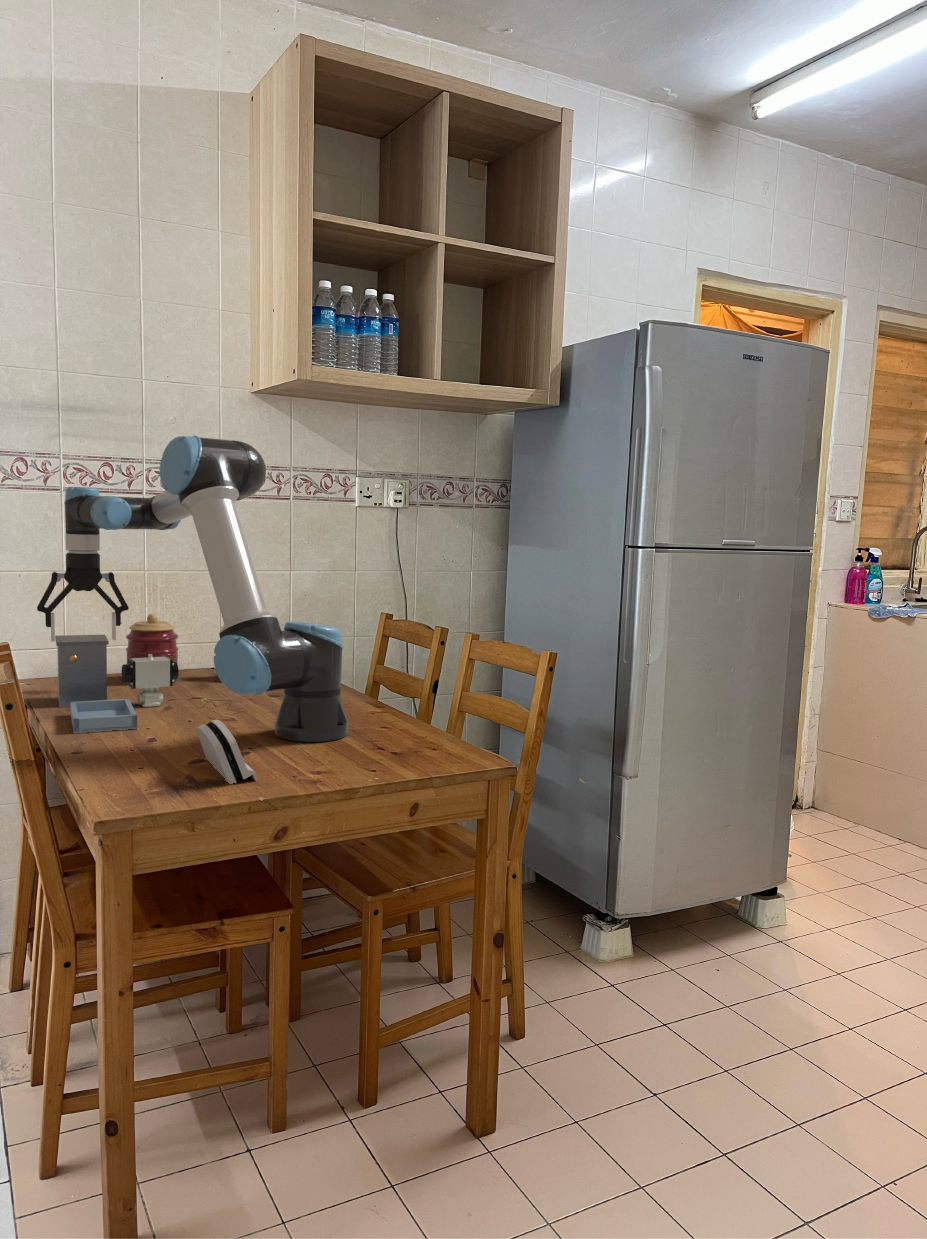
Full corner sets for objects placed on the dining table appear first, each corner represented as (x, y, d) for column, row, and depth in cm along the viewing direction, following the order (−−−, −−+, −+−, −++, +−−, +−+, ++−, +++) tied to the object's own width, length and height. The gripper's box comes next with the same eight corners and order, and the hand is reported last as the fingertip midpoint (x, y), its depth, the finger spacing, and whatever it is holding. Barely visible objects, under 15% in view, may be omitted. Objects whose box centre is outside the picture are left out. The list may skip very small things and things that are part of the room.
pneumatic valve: (178, 705, 209) (178, 654, 207) (126, 710, 202) (126, 657, 201) (172, 700, 213) (172, 650, 212) (120, 705, 207) (120, 653, 205)
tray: (137, 729, 185) (137, 715, 185) (73, 733, 180) (73, 719, 180) (129, 711, 201) (129, 698, 200) (70, 715, 195) (70, 701, 195)
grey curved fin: (259, 781, 154) (239, 729, 151) (233, 793, 152) (213, 741, 149) (233, 756, 168) (215, 708, 166) (209, 767, 166) (190, 719, 164)
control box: (109, 705, 206) (108, 641, 204) (57, 707, 202) (56, 642, 200) (105, 695, 216) (105, 634, 214) (56, 698, 211) (55, 635, 210)
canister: (124, 677, 239) (123, 611, 237) (174, 675, 245) (174, 610, 243) (128, 686, 228) (127, 617, 226) (181, 684, 233) (181, 616, 231)
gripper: (136, 552, 224) (136, 636, 226) (24, 550, 213) (26, 639, 216) (139, 553, 217) (140, 640, 220) (24, 552, 206) (26, 643, 209)
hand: (83, 640), depth 218 cm, fingers open, 13 cm apart
